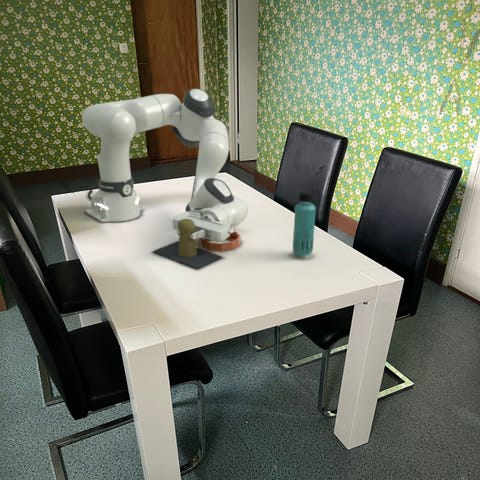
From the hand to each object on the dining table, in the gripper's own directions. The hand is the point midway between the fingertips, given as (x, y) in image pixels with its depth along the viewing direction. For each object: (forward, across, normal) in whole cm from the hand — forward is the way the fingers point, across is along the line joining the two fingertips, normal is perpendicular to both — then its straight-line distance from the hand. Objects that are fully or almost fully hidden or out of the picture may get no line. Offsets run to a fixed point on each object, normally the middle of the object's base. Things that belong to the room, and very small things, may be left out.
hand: (184, 234), depth 142 cm
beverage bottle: (-22, -30, -7) cm, 37 cm away
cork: (-1, 0, -7) cm, 7 cm away
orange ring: (-15, -2, -7) cm, 16 cm away
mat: (-1, 0, -7) cm, 7 cm away
